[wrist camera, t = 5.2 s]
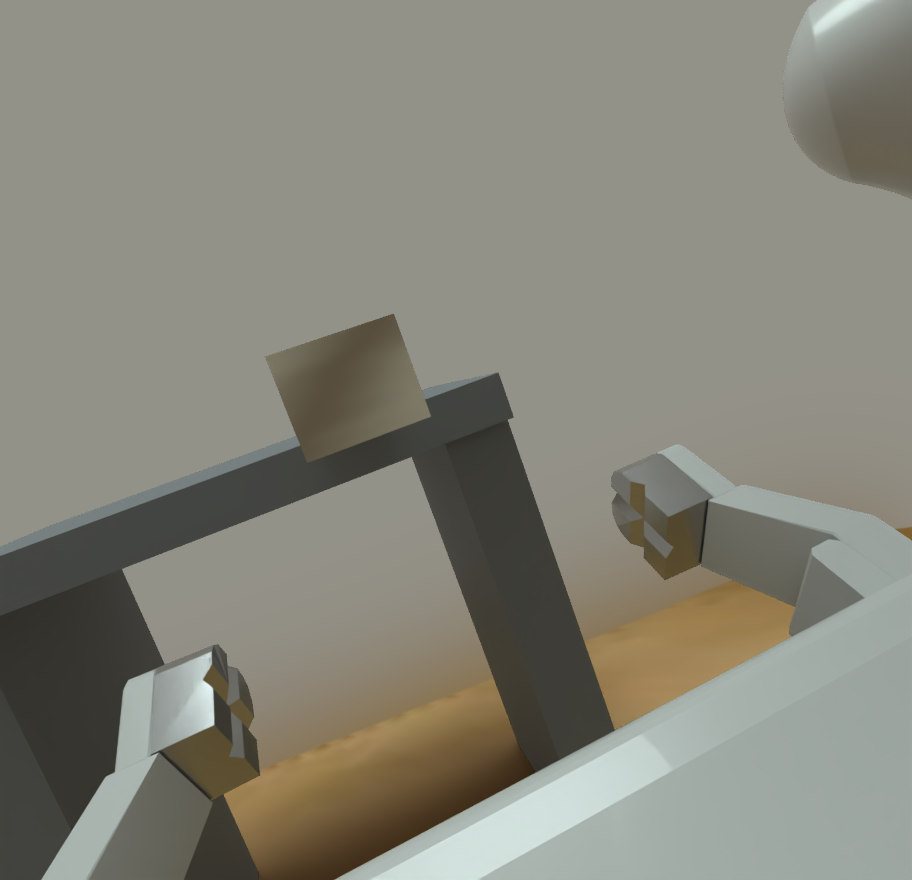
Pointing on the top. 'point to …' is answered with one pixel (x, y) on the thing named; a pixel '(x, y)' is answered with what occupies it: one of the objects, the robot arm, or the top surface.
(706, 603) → the top surface
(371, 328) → the bar
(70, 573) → the grey step stool
